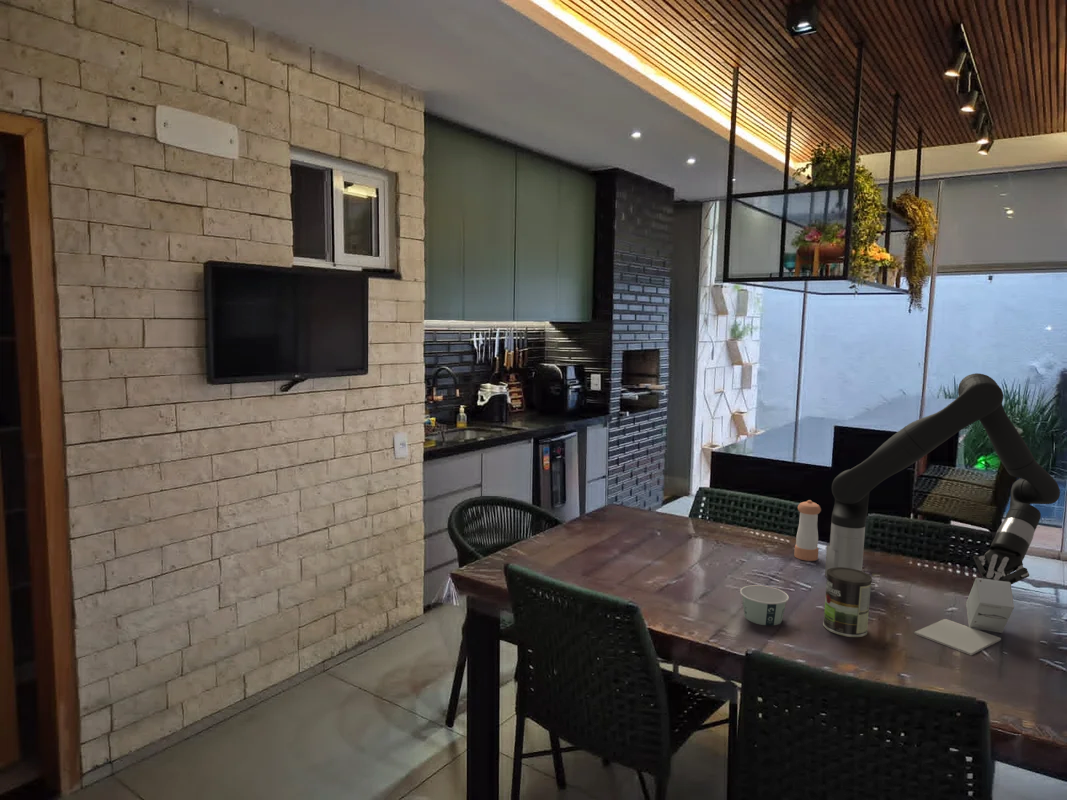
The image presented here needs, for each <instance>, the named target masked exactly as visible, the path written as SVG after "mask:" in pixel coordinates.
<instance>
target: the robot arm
mask: <svg viewBox="0 0 1067 800" xmlns="http://www.w3.org/2000/svg"><path fill="white" fill-rule="evenodd" d="M957 394H958V396H957V397H956V398H955V399H954V400H953V401H952V402H950V403H949V404H948V405H946V406H945V407H944V408H942V409H940V410H939V411H937V412H934V413H933V414H930V415H927V416H925V417H921V418H919V419H917V420H914V421H912V422H910V423H908V424H907V425H905V426H904V427H903V428H901V429H900V430H898V431H897V432H896V433H894V434H893V435H892V436H891V437H889V438H888V439H887V440H886V441H884V442H883V443H882V444H881V445H880V446H879V447H878V448H877V449H876V450H875V451H874V452H872V453H871V455H869V456H868V457H867V458H865V459H864V460H863V461H862V462H861V463H859V464H857V465H856V466H854V467H852V468H851V469H850V468H849V469H846V470H844V471H841V472H840V473H839V474H838V475H836V477H834V479H833V481H832V483H831V493H832V495H833V498H834V505H833V509H832V512H831V519H830V520H831V521H830V523H831V524H830V535H829V545H826V555H825V567H824V568H825V569H824V576H825V577H826V578H827V570H828V569H830V568H835V567H844V568H852V569H856V570H860V571H862V572H863V561H864V559H863V558H864V549H865V546H864V545H865V535H866V524H867V523H866V521H867V516H868V512H869V511H868V510H869V501H870V500H869V499H870V492H871V491H872V490H873V489H874V488H876V487H877V486H878V485H880V484H881V483H882V482H884V481H885V480H887V479H889V478H890V477H892V476H894V475H895V474H897V473H900V472H901V471H903V470H904V469H907V468H908V467H910V466H912V465H913V464H915V463H916V462H918V461H920V460H921V459H923V458H924V457H925V456H926V455H928V454H929V453H931V452H932V451H933V450H935V449H936V448H937V447H939V446H940V445H943V443H944V442H946V441H947V440H949V439H950V438H952V437H953V436H955V435H956V434H957V433H959V432H961V431H962V430H964V429H965V428H967V427H969V426H970V425H971V424H974V423H976V422H977V421H979V422H980V423H981V425H982V427H983V429H984V430H985V432H986V434H987V436H988V438H989V440H990V442H991V444H992V447H993V448H994V450H995V452H996V454H997V456H998V458H999V460H1000V461H1001V464H1002V465H1003V467H1004V468H1005V470H1006V472H1007V473H1008V474H1009V475H1010V477H1013V478H1019V479H1016V481H1014V482H1013V483H1012V486H1011V488H1010V501H1009V508H1008V511H1007V513H1006V515H1005V517H1004V519H1003V521H1002V523H1001V524H999V525H1000V526H998V529H997V531H996V534H995V536H994V538H993V540H992V542H991V544H990V546H989V549H988V550H987V551H986V552H985V553H984V555H980V556H979V555H973V557H972V558H973V560H974V562H975V565H976V567H977V570H978V571H979V574H980V576H981V578H983V579H991V580H998V581H1006V582H1010V583H1011V585H1014V584H1015V583H1017V582H1020V581H1022V580H1025V579H1027V578H1029V576H1030V573H1029V571H1028V568H1026V567H1024V566H1023V565H1024V563H1023V561H1024V560H1025V557H1026V555H1027V552H1028V550H1029V548H1030V546H1031V543H1032V541H1033V539H1034V536H1035V535H1034V534H1035V532H1036V530H1037V528H1038V525H1039V523H1040V522H1041V517H1042V515H1041V511H1040V510H1039V509H1038V508H1037V507H1035V506H1034V505H1050V504H1051V505H1052V504H1054V503H1056V502H1058V501H1059V499H1060V496H1061V489H1060V486H1059V484H1058V482H1057V481H1056V480H1055V478H1054V477H1053V476H1052V475H1051V474H1050V473H1049V472H1048V471H1047V470H1046V469H1044V468H1043V466H1042V465H1041V464H1039V463H1038V462H1037V461H1036V459H1035V458H1034V456H1033V453H1032V452H1031V450H1030V449H1029V446H1028V445H1027V443H1026V442H1025V440H1024V438H1023V437H1022V436H1021V434H1020V432H1019V431H1018V430H1017V428H1016V427H1015V425H1014V424H1013V423H1012V422H1011V420H1010V418H1009V416H1008V414H1007V412H1006V411H1005V409H1004V407H1003V404H1002V403H1003V400H1004V393H1003V390H1002V388H1001V387H1000V385H998V383H997V382H996V381H995V379H993V377H990V376H989V375H987V374H985V373H977V372H976V373H975V372H974V373H972V374H968V375H966V376H965V377H963V378H962V379H961V380H960V382H959V384H958V388H957ZM985 564H987V565H988V570H987V571H986V570H985V568H984V566H985Z"/></svg>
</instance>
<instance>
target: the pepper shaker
mask: <svg viewBox="0 0 1067 800" xmlns="http://www.w3.org/2000/svg"><path fill="white" fill-rule="evenodd" d="M797 511H798V512H799V522H798V527H797V530H796V531H797V533H796V537H795V538H796V540H795V545H794V552H793V553H794V554H793V556H794V558H796V559H797V560H802V561H805V562H806V561H807V562H815V561H817V560H818V559H819V547H818V545H819V530H818V517H819V514H820V513H821V512H822V508H821V505H819V504H817V503H816V502H814V501H812V500H811V499H808V500H806V501H802V502H800V503H799V504H798V505H797Z"/></svg>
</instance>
